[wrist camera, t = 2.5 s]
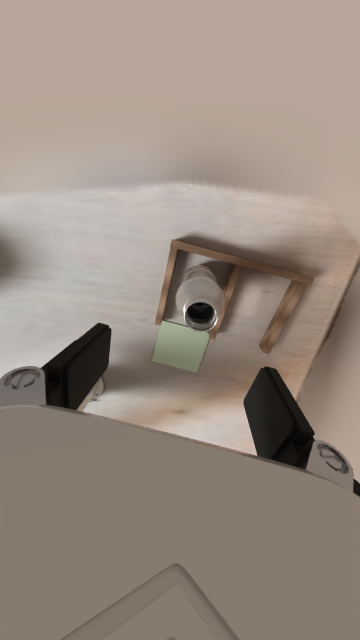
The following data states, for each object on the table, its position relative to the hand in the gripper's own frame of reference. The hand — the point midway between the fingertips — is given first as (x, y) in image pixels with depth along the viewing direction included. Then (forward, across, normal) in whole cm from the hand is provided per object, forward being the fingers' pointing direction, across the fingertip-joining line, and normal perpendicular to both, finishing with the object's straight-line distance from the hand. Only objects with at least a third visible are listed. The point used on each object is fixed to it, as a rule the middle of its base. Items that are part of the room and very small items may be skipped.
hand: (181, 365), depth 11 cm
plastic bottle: (+29, -1, 0) cm, 29 cm away
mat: (+28, -1, +17) cm, 33 cm away
